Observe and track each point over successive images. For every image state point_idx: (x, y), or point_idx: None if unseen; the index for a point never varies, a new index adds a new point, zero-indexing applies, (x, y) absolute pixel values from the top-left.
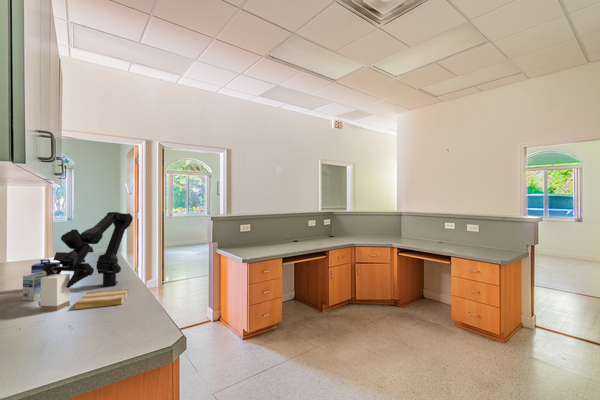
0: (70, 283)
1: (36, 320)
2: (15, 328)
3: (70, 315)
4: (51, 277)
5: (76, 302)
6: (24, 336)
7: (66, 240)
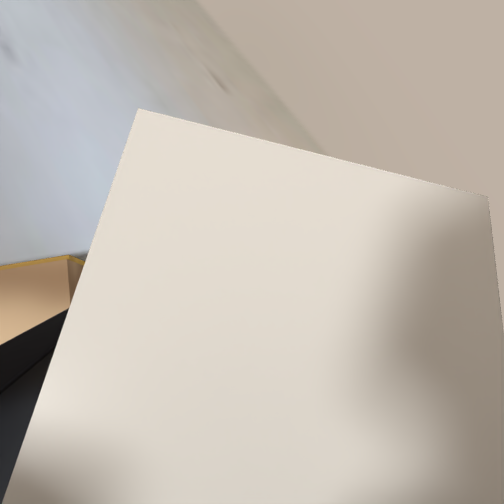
0: (44, 335)
1: None
2: (241, 89)
3: (71, 178)
4: (309, 192)
5: (63, 277)
6: (152, 11)
7: None
